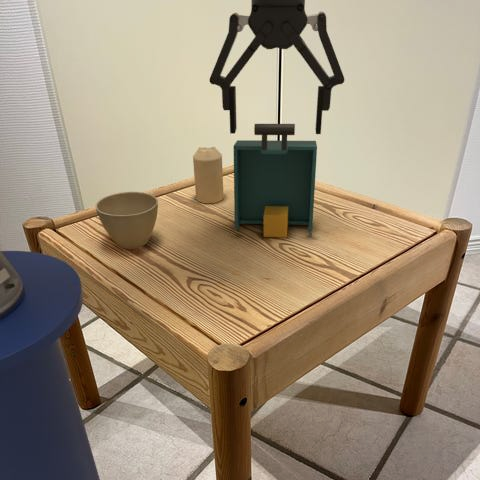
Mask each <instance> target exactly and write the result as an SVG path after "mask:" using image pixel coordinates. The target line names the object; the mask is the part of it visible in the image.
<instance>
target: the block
mask: <svg viewBox="0 0 480 480" xmlns="http://www.w3.org/2000/svg"><path fill="white" fill-rule="evenodd" d="M288 226H289V224H288V206H265V211H264V224H263V238H288V231H289V230H288V228H289V227H288Z"/></svg>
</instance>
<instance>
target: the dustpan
mask: <svg viewBox="0 0 480 480" xmlns="http://www.w3.org/2000/svg"><path fill="white" fill-rule="evenodd" d="M253 127H254V129H253V132H254V133H253V135H254V136H261V140H260V139H259V140H258V139H257V140H255V139H254V140H253V139H252V140H246V139H245V140H243V139H241V140H236V142H234V145H233V199H234V200H233V201H234V202H233V205H234V206H233V207H234V209H233V211H234V231H239V229H240V226H241V224H242V225H244V224H247V225H264V211H265V206H288V226H289V225H290V226H291V225H293V226H295V225H296V226H299V225H300V226H307V229H308V232H309V233H312V232H313V224H314V208H315V191H316V174H317V173H316V170H317V157H318V144H317V141H316V140H288V136H295V135H296V124H295V123H255V124H254V126H253ZM268 136H281V140H268Z"/></svg>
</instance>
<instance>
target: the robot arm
mask: <svg viewBox="0 0 480 480" xmlns="http://www.w3.org/2000/svg"><path fill="white" fill-rule="evenodd" d="M250 2H251V5H250V7H251V8H250V14H249V15H243V14H239V13H237V12H234V13H231V15H229V18H228V19H229V21H228V32H227V34H226V37H225V40H224V42H223V45H222V47H221V50H220V52H219V54H218V57H217V59H216V62H215V65H214V67H213V70H212V72H211V74H210V77H209V83H210V85H213V86H218V87H219V88H220V89H221V99H222V100H221V102H222V103H221V104H222V110H223V111H229V132H230V133H229V134H230V135H231V134H236V133H237V90H236V89H237V88H236V87H237V86H236V85H232V83H233V82H234V81H235V80H236V78H237V77H238V75H239V74H240V73H241V72H242V71H243V69H244V68H245V66H246V65H247V64H248V62H249V61H250V60H251V58H252V57H253V55H254V54H255V53H256V52H257V50H259V48H260V46H261V47H262V48H264V49H266V50H274V49H280V50H288V49H290V48H291V47H294V48H295V49H296V51H297V52H298V53H299V54H300V56H301V58H303V60H304V62H305V63H306V64H307V66H309V68H310V70H311V71H312V72H313V74H314V75H315V76H316V79H318V80H319V82H320V84H321V85H318V86H317V97H316V98H317V99H316V113H315V114H316V115H315V135H321V133H322V122H323V112H326V111H327V112H328V111H329V110H330V108H331V98H332V90H333V88H334V87H336V86H338V85H343V84H344V83H345V76H344V73H343V70H342V68H341V66H340V62H339V60H338V57H337V55H336V52H335V49H334V47H333V44H332V41H331V38H330V35H329V32H328V29H327V28H328V27H327V26H328V25H327V15H326V13H325V12H324V11H318V13H315V14H314V13H313V14H307V13H306V10H305V9H306V8H305V7H306V6H305V5H306V0H251V1H250ZM247 25H248V27H249V29H250V31H251V32H252V33H253V35H254V37H253V39H252V40H251V41H250V43H249V44H248V46H247V47H246V49H245V50H244V51H243V53H242V54H241V55H240V57H238V59H237V60H236V62H235V64H234V65H233V66H232V67H231V69H230V70H229V71H228V73H227V74H226V76H223V75H222V73H223V71H224V69H225V66H226V64H227V62H228V59H229V56H230V53H231V51H232V49H233V46H234V44H235V42H236V39H237V37H238V34H239V33H241V32H242V31H243V30H244V28H245V26H247ZM307 25H310V26H311V28H312V30H313V32H317V33H318V37H319V40H320V42H321V46H322V48H323V50H324V53H325V55H326V59H327V61H328V63H329V66H330V69H331V71H332V74H333V75H328V73H327V72H326V71H325V68H323V66H322V64H321V63H320V61H318V59H317V58H316V57H315V54H314V53H313V52H312V51H311V49H310V47H308V45H307V44H306V42H305V40H304V39H303V37H302V36H301V34H302V33H303V31H304V30H305V28H306V27H307ZM1 251H2V250H0V320H2V319H3V318H5V317H6V316H8V315H9V314H11V313H12V312H13V311H14V310H15V309H16V308H17V307H18V306H19V305H20V304H21V302H22V300H23V298H24V295H25V290H24V287H23V284H22V280H21V278H20V276H19V275H18V273H17V272H16V270H15V269H14V268H13V266H12V265H11V264H10V262H9V261H8V260H7V259H6V257H5V256H4V255H3V253H2V252H1Z"/></svg>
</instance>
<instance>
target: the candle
mask: <svg viewBox="0 0 480 480" xmlns="http://www.w3.org/2000/svg"><path fill="white" fill-rule="evenodd" d="M192 165H193V175H194V189H195V190H194V191H195V199H196V201H198V202H199V203H203V204H214V203H218V202H221V201H222V200H224V174H223V172H224V171H223V155H222V153H221V152H220V151H219V149H217V148H216V147H215V146H212V147H198V149H197V150H196V151H195V153H194V154H193V155H192Z"/></svg>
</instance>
